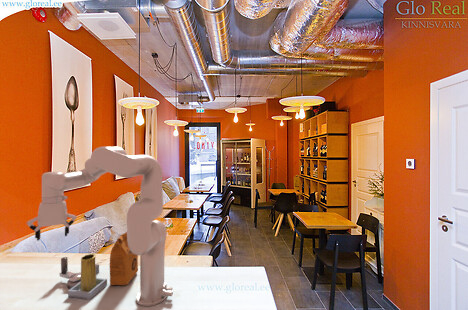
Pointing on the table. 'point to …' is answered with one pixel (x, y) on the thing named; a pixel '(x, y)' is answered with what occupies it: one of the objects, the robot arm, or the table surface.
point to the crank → (69, 275)
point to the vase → (88, 273)
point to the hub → (71, 284)
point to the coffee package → (122, 262)
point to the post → (97, 268)
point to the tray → (76, 292)
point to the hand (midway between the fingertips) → (52, 237)
